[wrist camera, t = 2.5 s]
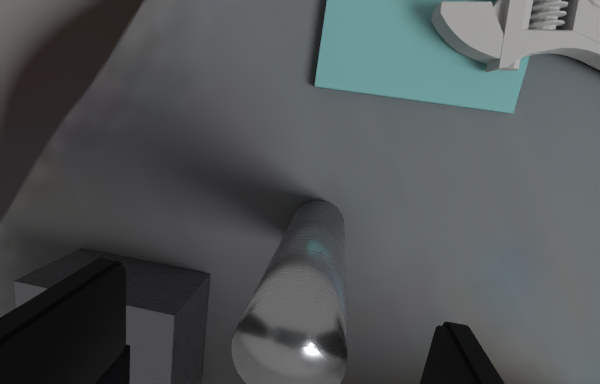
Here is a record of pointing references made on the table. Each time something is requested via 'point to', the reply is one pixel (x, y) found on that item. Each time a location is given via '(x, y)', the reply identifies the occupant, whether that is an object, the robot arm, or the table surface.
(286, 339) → the metal cylinder
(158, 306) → the block
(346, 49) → the mat
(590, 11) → the adjustable wrench
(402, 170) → the table surface
